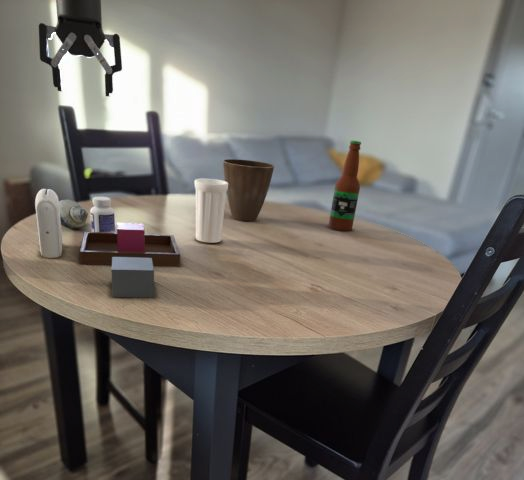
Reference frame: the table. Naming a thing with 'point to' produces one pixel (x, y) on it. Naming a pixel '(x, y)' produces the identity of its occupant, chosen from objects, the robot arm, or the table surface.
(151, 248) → the tray
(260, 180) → the flower pot
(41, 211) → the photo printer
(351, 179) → the bottle
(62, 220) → the seashell
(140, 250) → the pink block
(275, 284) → the table surface
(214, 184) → the cup
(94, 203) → the pill bottle
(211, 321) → the table surface
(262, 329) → the table surface
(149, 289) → the grey block
